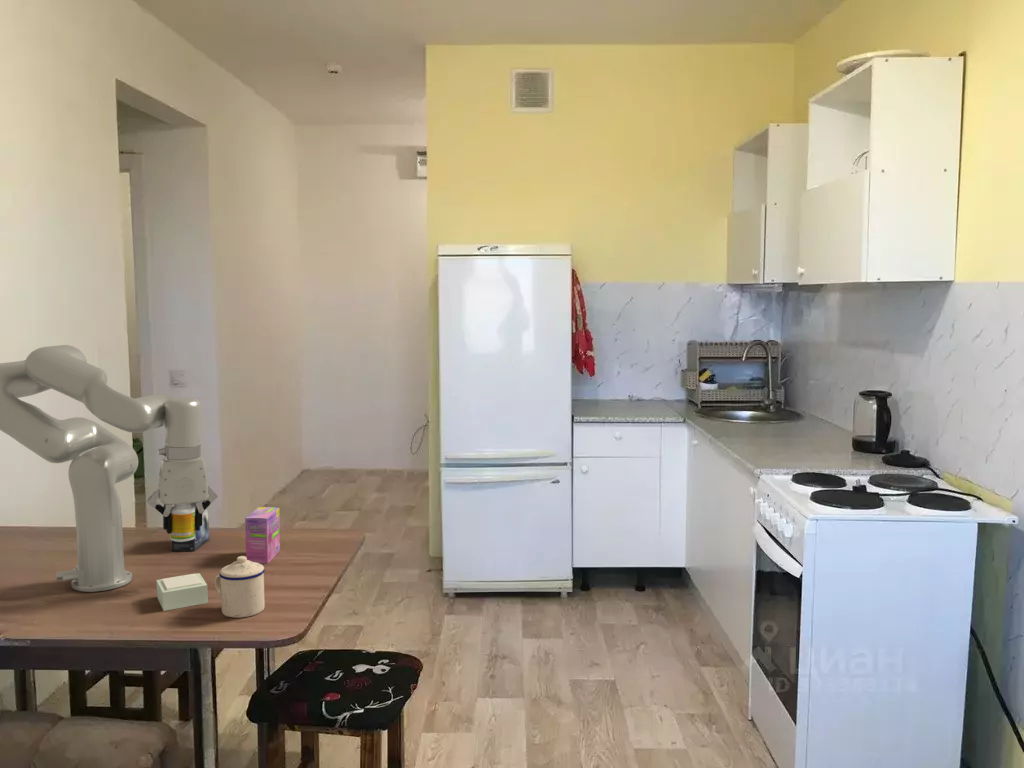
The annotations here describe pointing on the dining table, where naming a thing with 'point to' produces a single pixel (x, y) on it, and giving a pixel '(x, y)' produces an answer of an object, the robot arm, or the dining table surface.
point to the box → (262, 534)
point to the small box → (199, 538)
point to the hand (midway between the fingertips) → (182, 529)
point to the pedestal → (182, 591)
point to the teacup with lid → (241, 588)
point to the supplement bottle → (182, 522)
